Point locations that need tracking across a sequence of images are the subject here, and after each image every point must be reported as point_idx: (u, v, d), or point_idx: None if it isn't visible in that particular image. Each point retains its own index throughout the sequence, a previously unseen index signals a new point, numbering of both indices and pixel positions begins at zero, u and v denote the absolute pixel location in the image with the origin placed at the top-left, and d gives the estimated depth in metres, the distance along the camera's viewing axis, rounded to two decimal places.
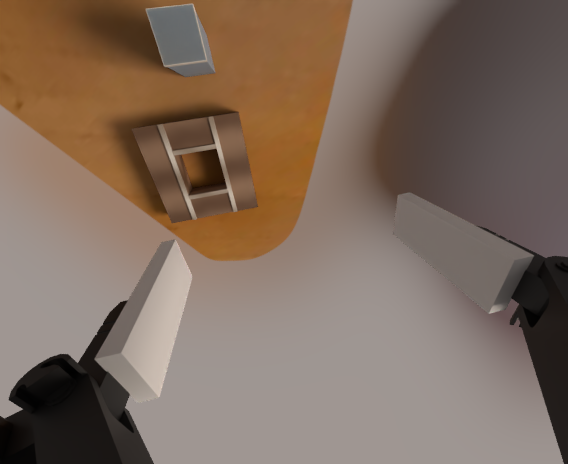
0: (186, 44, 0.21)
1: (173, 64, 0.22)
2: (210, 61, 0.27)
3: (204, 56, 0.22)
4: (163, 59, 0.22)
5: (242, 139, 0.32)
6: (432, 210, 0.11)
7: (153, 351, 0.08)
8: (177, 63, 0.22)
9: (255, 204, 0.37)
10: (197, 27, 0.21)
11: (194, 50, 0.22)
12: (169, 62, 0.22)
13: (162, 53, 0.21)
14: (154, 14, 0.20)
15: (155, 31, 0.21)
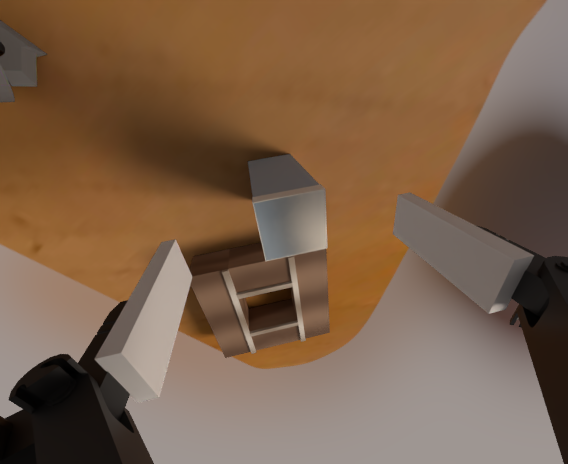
0: (302, 235, 0.14)
1: (278, 257, 0.14)
2: None
3: (325, 244, 0.14)
4: (266, 254, 0.14)
5: (325, 273, 0.25)
6: (432, 210, 0.11)
7: (153, 351, 0.08)
8: (285, 256, 0.14)
9: (327, 330, 0.30)
10: (324, 214, 0.13)
11: (313, 239, 0.14)
12: (274, 256, 0.14)
13: (266, 248, 0.14)
14: (264, 207, 0.12)
15: (261, 226, 0.13)
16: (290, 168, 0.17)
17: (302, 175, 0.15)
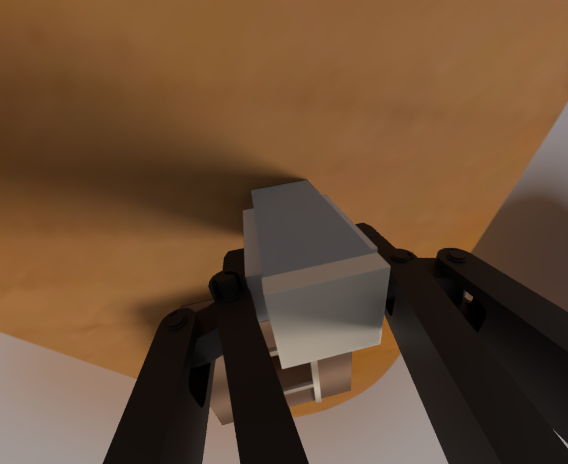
0: (344, 332, 0.08)
1: None
2: None
3: (378, 339, 0.09)
4: (283, 361, 0.09)
5: None
6: None
7: None
8: (313, 359, 0.09)
9: (348, 388, 0.24)
10: (383, 302, 0.08)
11: (360, 336, 0.09)
12: (296, 362, 0.09)
13: (284, 353, 0.08)
14: (284, 300, 0.07)
15: (278, 326, 0.08)
16: (314, 209, 0.12)
17: (338, 227, 0.10)
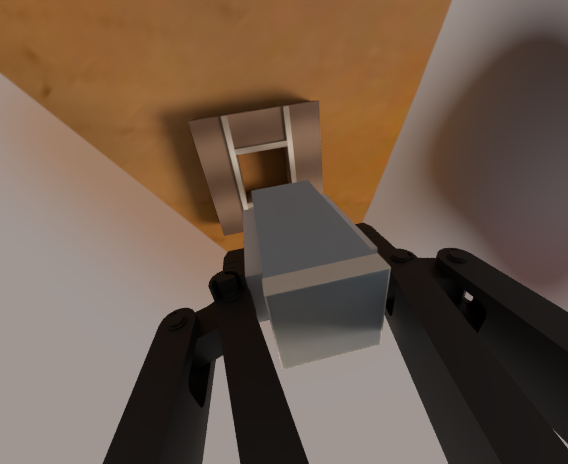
0: (344, 332, 0.08)
1: None
2: None
3: (378, 340, 0.09)
4: (284, 361, 0.09)
5: (318, 134, 0.26)
6: None
7: None
8: (313, 360, 0.09)
9: None
10: (383, 302, 0.08)
11: (360, 336, 0.09)
12: (296, 362, 0.09)
13: (284, 354, 0.08)
14: (284, 301, 0.07)
15: (278, 327, 0.08)
16: (314, 210, 0.12)
17: (338, 227, 0.10)
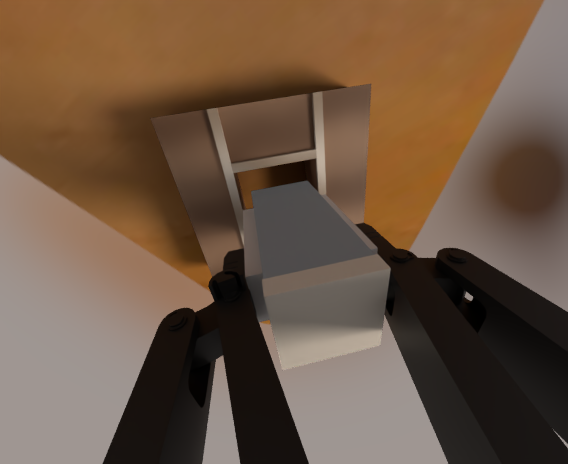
0: (344, 333, 0.08)
1: None
2: None
3: (378, 341, 0.09)
4: (284, 362, 0.09)
5: (365, 139, 0.16)
6: None
7: None
8: (313, 360, 0.09)
9: None
10: (383, 303, 0.08)
11: (360, 337, 0.09)
12: (296, 363, 0.09)
13: (284, 355, 0.08)
14: (284, 302, 0.07)
15: (278, 328, 0.08)
16: (314, 210, 0.12)
17: (338, 228, 0.10)
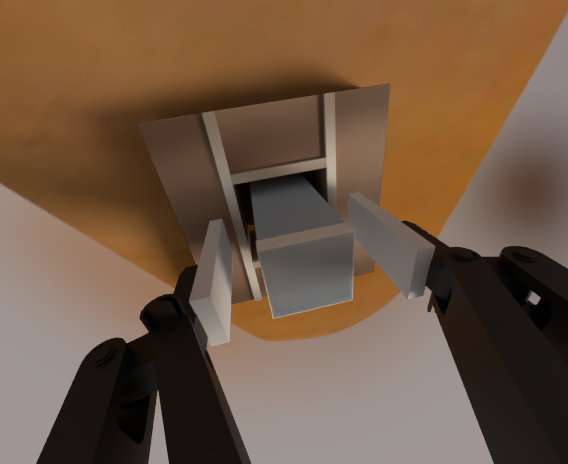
0: (322, 286, 0.11)
1: None
2: None
3: (350, 295, 0.11)
4: (274, 311, 0.11)
5: (382, 146, 0.14)
6: (370, 207, 0.12)
7: (222, 304, 0.10)
8: (298, 311, 0.11)
9: (370, 268, 0.20)
10: (351, 261, 0.10)
11: (335, 291, 0.11)
12: (284, 312, 0.11)
13: (274, 304, 0.11)
14: (273, 256, 0.09)
15: (268, 279, 0.10)
16: (302, 194, 0.14)
17: (319, 206, 0.12)
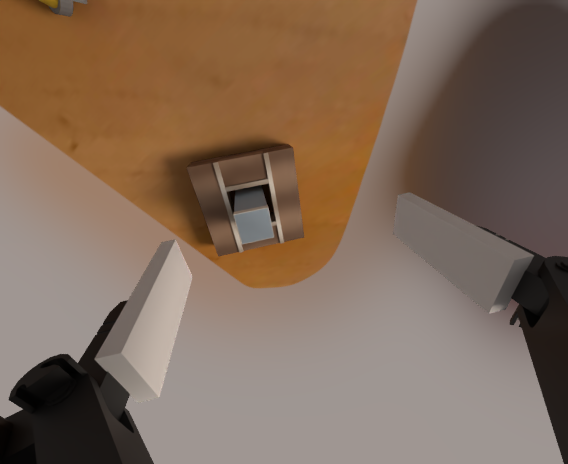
0: (260, 230, 0.27)
1: (248, 242, 0.28)
2: None
3: (272, 235, 0.28)
4: (242, 240, 0.28)
5: (294, 173, 0.31)
6: (432, 210, 0.11)
7: (153, 351, 0.08)
8: (252, 241, 0.28)
9: (302, 235, 0.36)
10: (269, 219, 0.27)
11: (265, 232, 0.28)
12: (246, 241, 0.28)
13: (241, 237, 0.27)
14: (239, 216, 0.26)
15: (238, 226, 0.27)
16: (257, 195, 0.31)
17: (261, 199, 0.29)
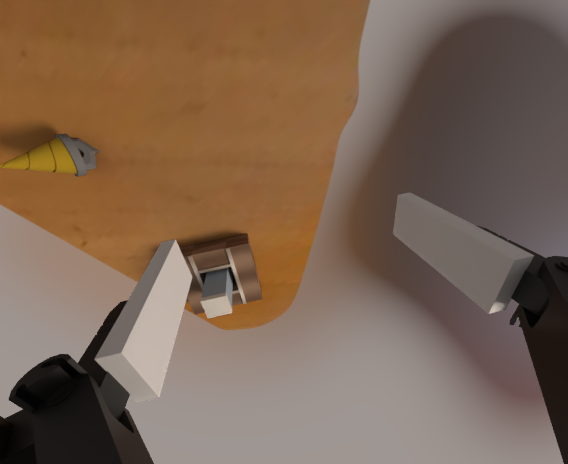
0: (220, 309, 0.38)
1: (213, 316, 0.38)
2: (231, 286, 0.43)
3: (230, 311, 0.38)
4: (207, 316, 0.38)
5: (251, 258, 0.42)
6: (432, 210, 0.11)
7: (153, 351, 0.08)
8: (215, 316, 0.38)
9: (260, 297, 0.47)
10: (227, 302, 0.37)
11: (225, 310, 0.38)
12: (211, 316, 0.38)
13: (207, 314, 0.38)
14: (204, 302, 0.36)
15: (204, 308, 0.37)
16: (221, 276, 0.41)
17: (223, 284, 0.39)
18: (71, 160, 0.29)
